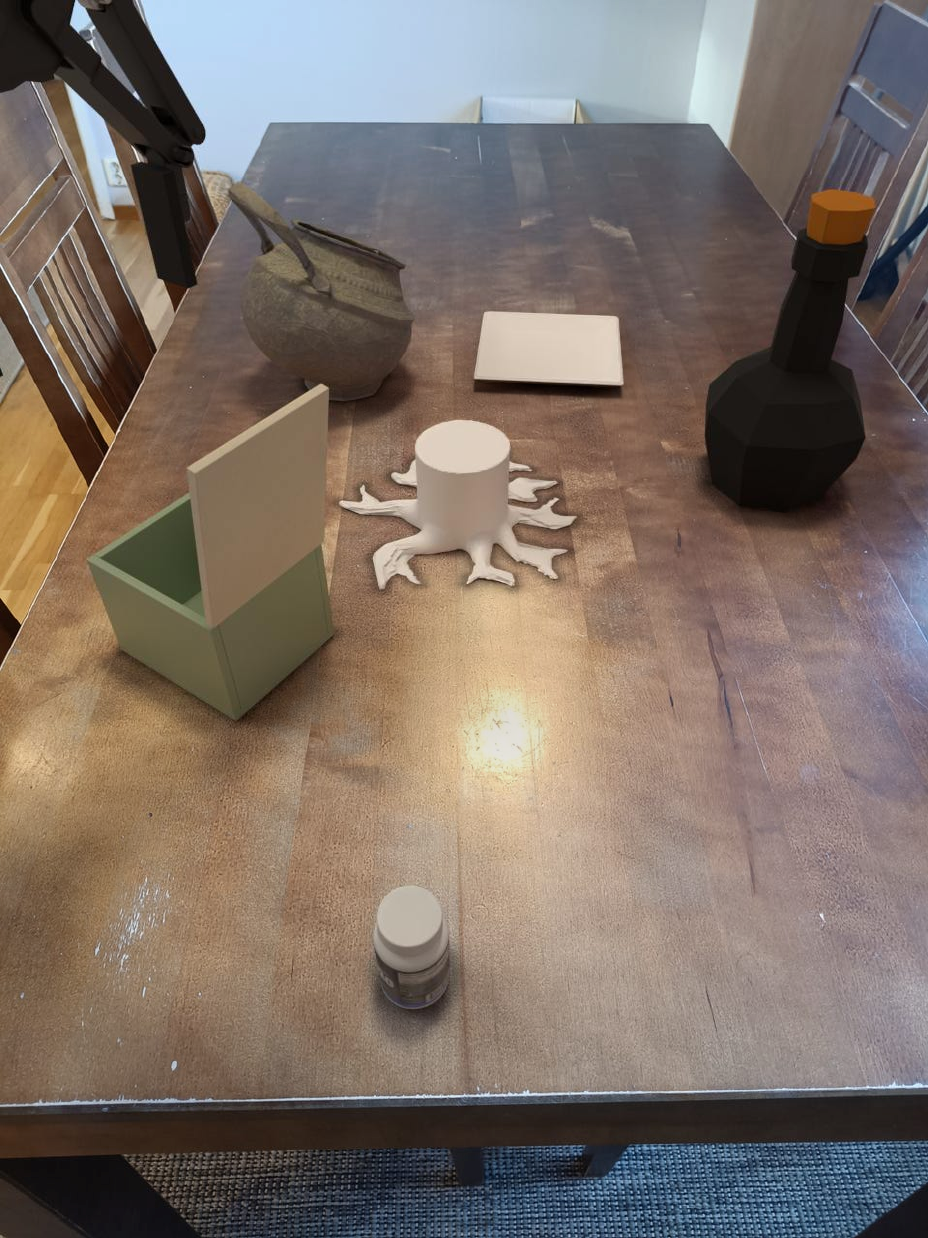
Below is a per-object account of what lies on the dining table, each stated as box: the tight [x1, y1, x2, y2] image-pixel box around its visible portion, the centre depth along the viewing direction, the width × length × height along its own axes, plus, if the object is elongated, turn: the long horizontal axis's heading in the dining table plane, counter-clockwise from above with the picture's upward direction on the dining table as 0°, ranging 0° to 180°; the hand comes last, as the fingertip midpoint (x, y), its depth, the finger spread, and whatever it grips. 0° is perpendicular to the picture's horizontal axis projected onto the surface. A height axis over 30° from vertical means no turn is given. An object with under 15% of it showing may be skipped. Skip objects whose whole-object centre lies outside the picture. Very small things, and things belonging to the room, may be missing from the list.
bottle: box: [704, 188, 876, 513], centre depth 89 cm, size 16×16×30 cm
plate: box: [473, 310, 625, 388], centre depth 119 cm, size 19×19×2 cm
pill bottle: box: [372, 885, 451, 1010], centre depth 57 cm, size 5×5×8 cm
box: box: [86, 491, 335, 722], centre depth 78 cm, size 15×13×11 cm
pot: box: [227, 180, 416, 402], centre depth 106 cm, size 21×21×25 cm
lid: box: [186, 384, 330, 628], centre depth 65 cm, size 15×13×1 cm
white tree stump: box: [338, 419, 578, 590], centre depth 92 cm, size 23×25×9 cm
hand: (87, 323), depth 51 cm, fingers open, 13 cm apart
